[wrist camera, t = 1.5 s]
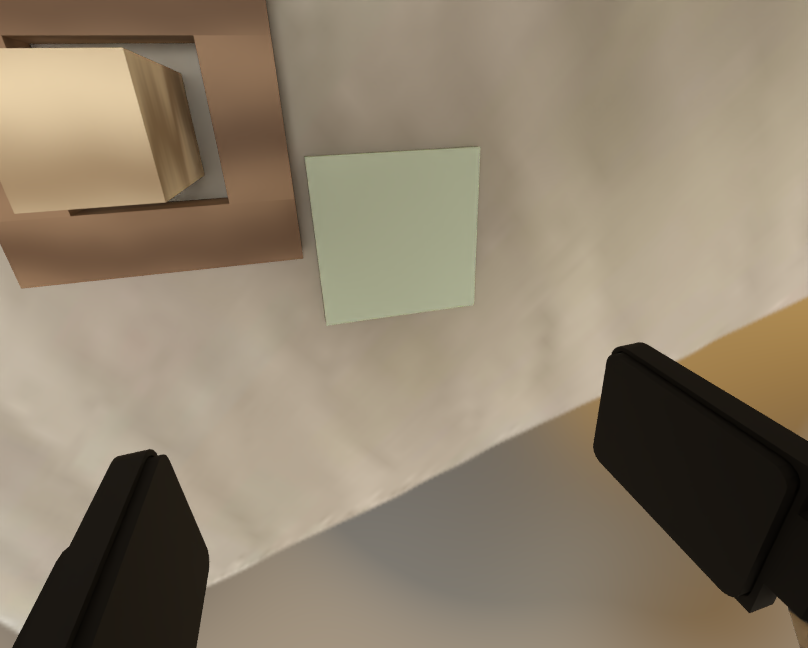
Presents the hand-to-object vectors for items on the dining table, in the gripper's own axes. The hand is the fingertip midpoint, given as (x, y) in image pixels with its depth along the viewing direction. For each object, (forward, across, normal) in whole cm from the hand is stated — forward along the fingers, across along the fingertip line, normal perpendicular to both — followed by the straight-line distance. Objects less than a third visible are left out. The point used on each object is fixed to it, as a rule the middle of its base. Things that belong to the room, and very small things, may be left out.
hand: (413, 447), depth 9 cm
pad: (+23, -5, +2) cm, 24 cm away
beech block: (+24, +9, -7) cm, 26 cm away
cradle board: (+24, +9, -7) cm, 26 cm away
